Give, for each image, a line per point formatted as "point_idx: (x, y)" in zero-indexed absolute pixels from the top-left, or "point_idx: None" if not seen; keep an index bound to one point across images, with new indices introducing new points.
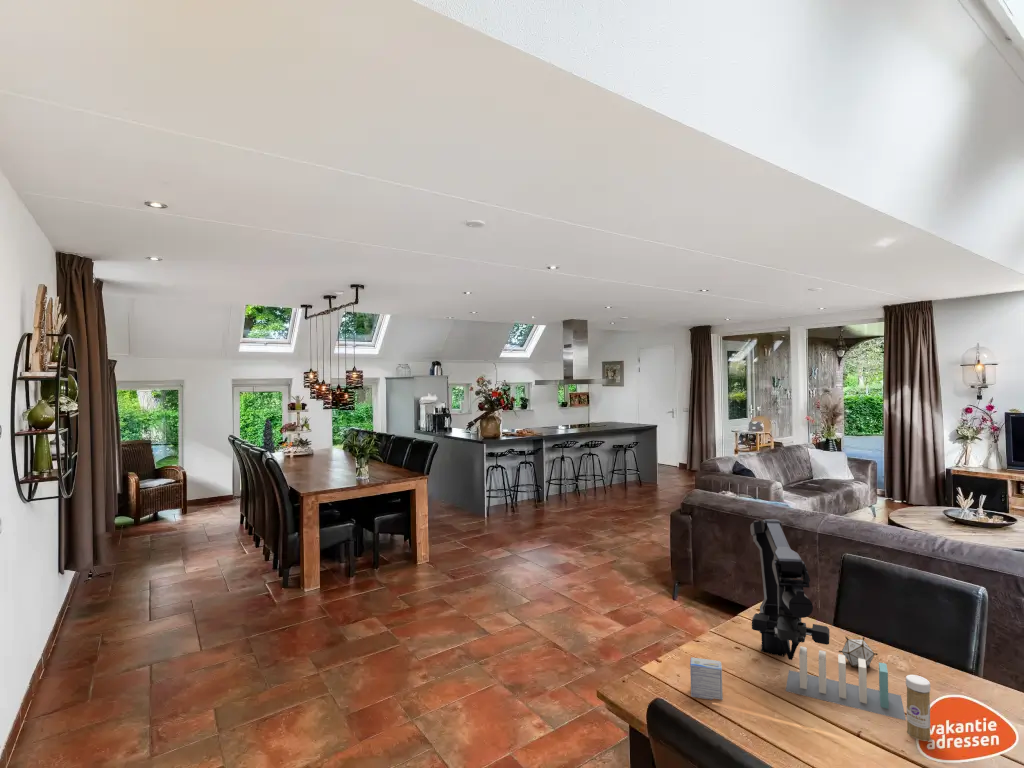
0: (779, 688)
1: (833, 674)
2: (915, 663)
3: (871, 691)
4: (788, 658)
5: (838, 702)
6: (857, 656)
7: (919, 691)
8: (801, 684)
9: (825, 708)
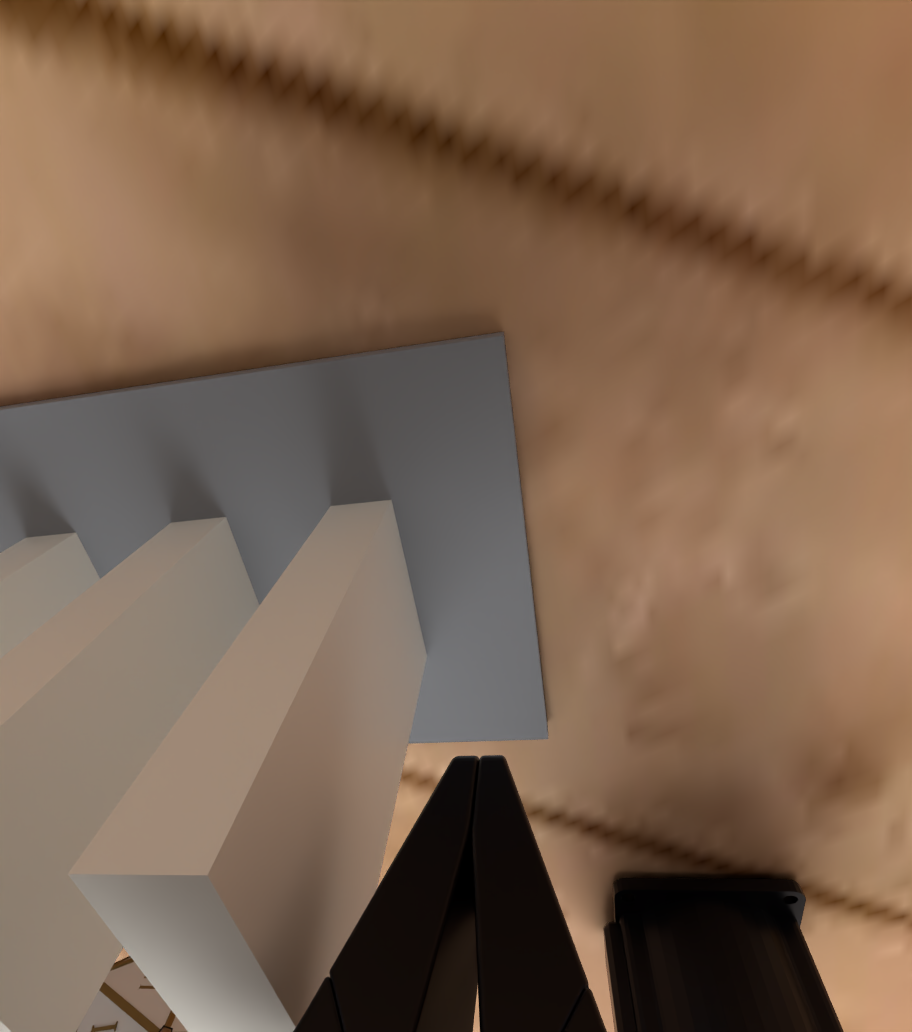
0: (581, 398)
1: None
2: None
3: None
4: (507, 768)
5: (31, 434)
6: (117, 1019)
7: None
8: (368, 520)
9: (88, 272)
